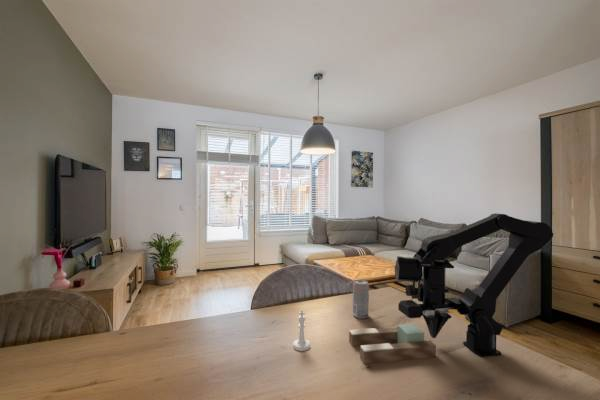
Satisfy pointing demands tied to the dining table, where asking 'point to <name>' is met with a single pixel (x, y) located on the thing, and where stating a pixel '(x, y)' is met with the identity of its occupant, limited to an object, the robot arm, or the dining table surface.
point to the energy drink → (360, 299)
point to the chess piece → (301, 335)
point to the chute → (388, 346)
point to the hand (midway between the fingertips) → (433, 337)
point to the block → (409, 334)
